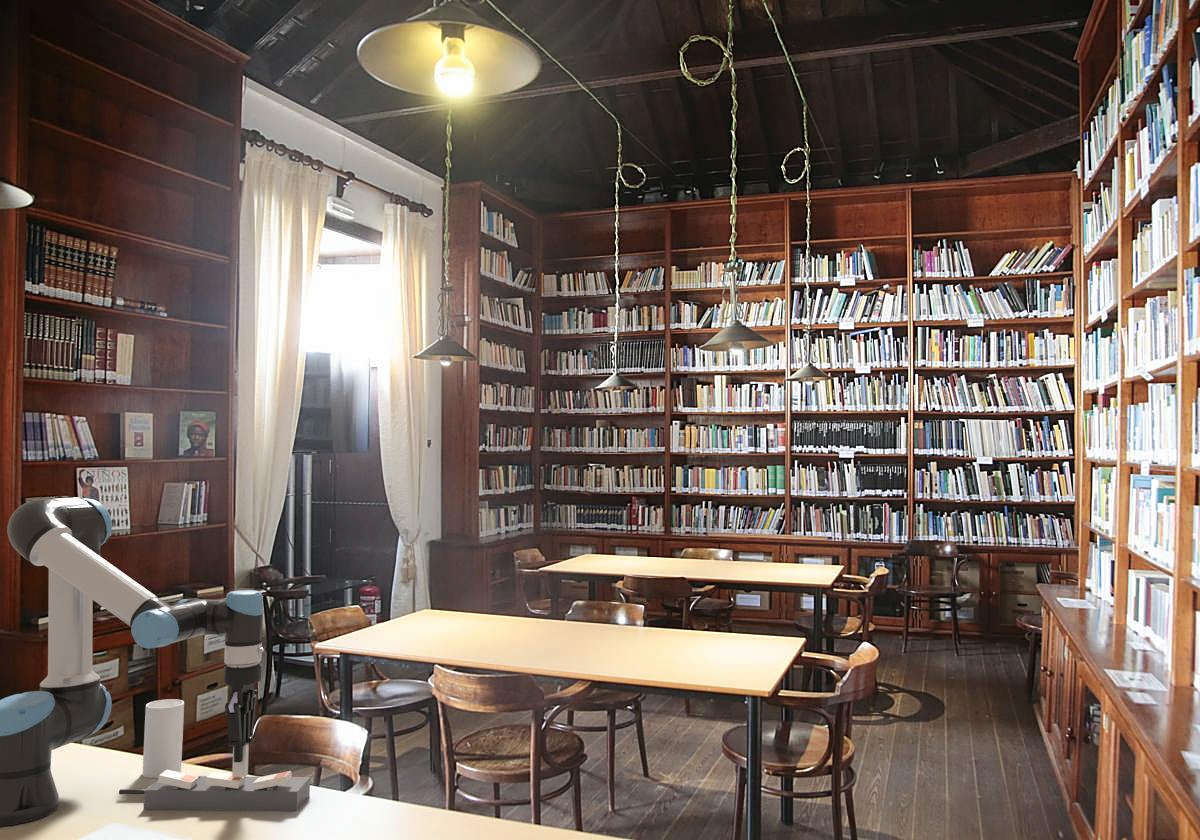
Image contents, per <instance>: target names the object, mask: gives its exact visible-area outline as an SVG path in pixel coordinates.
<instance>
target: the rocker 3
mask: <svg viewBox="0 0 1200 840" xmlns="http://www.w3.org/2000/svg"><path fill="white" fill-rule="evenodd" d="M292 773H293V772H292V770H289V771H283V772H279V773H273V774H268V775H263V776H258V777H259V778H258V779H257V780H255V781H254V782H253V787H254V790H257V789H262V788H267V787H272V786H277V785H282V784H286V783H288V782H289V781H290V780H291V778H292V777H293V774H292Z"/></svg>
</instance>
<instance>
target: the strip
mask: <svg viewBox="0 0 1200 840" xmlns="http://www.w3.org/2000/svg"><path fill="white" fill-rule="evenodd" d="M197 776H198V777H199V778H198V782H197V784H196V785H195V786H194V787H192V788H191V789H185V788H181V787H176V786H172V785H167V784H163V783H159V782H158V780H156V781H155V782H154V783H152V784H151V785H149V786H148V787H147V788H146V789H133V788H132V789H131V788H130V789H123V788H121V789H119V791H118V794H119V795H141V796H143V811H144V810H146V811H147V810H148V811H150V810H151V811H152V810H153V811H243V810H244V812H245V811H248V812H249V811H252V812H253V811H262V812H263V811H265V812H266V811H267V812H268V811H269V812H273V811H274V812H275V811H277V812H278V811H279V812H288V811H289V812H298V810H299V809H300V807H301V806H303V804H304V803H305V802H306V800H307V799H308V798H309V797H310V794H311V793H310V791H311V790H310V789H311V788H310V787H311V777H310V776H292V778H291V780H290V781H289V782H288V783H286V784H282V785H277V786H272V787H267V788H262V789H257V790H254V787H253V782H254V781H255V780H257V779H258V778H259V777H260V776H246V777H245V782H244V784H243V785H241V786H240V787H239V788H230V787H222V786H215V785H207V784H205V782H206V777H207V776H208V775H197Z"/></svg>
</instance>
